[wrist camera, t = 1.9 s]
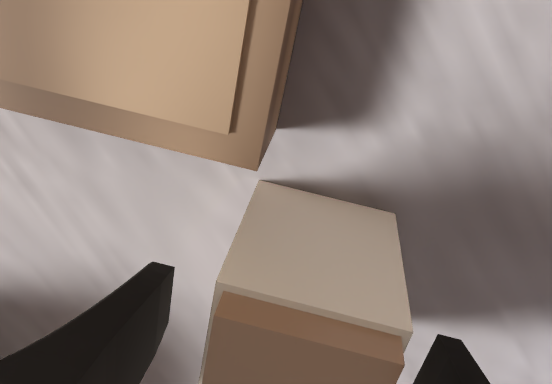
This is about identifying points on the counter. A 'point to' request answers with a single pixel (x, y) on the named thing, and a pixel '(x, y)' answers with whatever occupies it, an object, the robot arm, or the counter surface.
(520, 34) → the counter surface
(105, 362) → the robot arm
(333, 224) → the beige rectangular block
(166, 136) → the tan square tray
